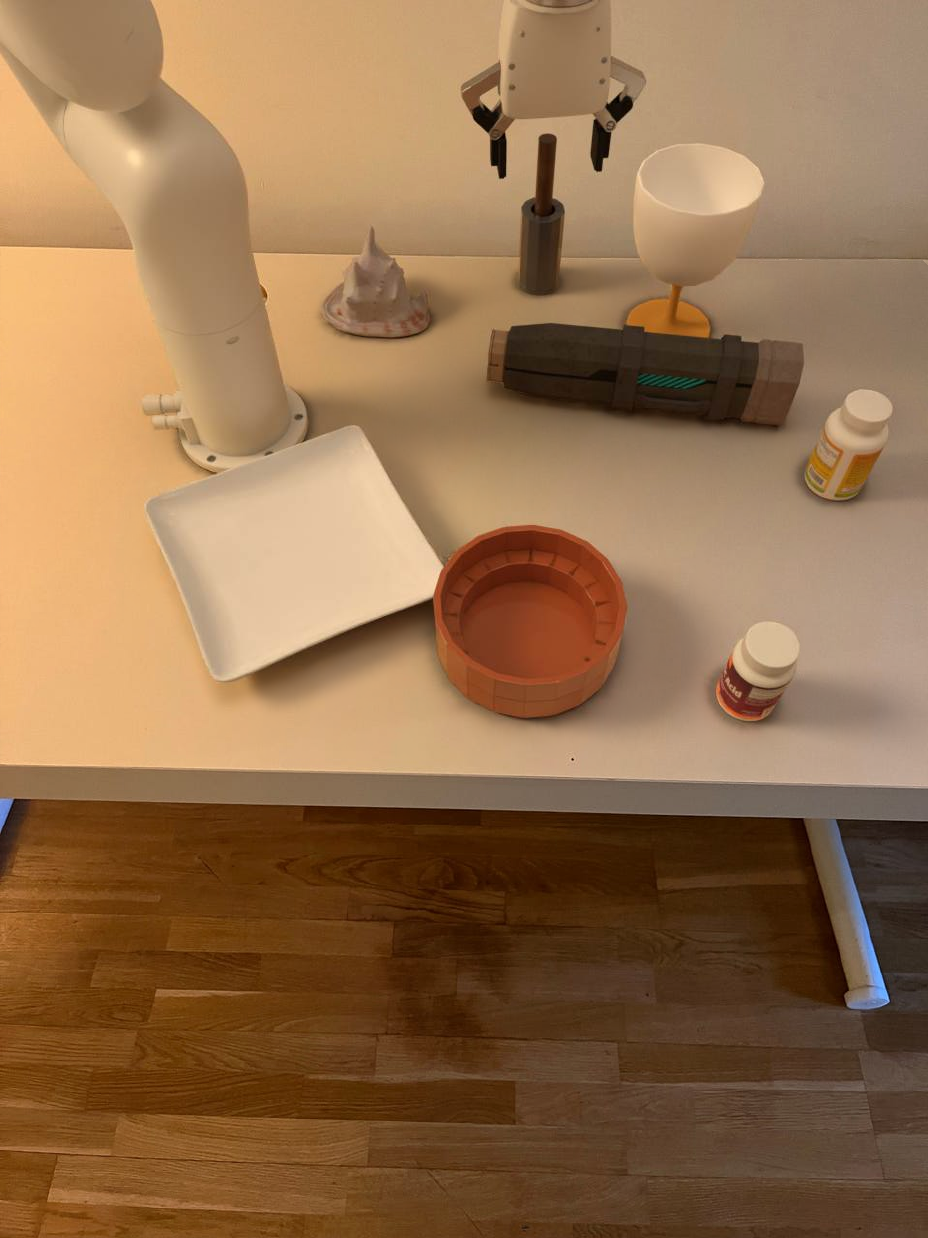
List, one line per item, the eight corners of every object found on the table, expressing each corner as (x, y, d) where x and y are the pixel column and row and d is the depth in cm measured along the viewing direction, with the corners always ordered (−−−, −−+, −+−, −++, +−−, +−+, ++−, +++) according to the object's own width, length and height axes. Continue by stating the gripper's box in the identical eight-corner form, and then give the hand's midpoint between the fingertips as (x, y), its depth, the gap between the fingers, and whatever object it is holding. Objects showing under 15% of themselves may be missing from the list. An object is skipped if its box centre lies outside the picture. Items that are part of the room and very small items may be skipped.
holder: (520, 296, 101) (524, 222, 93) (516, 270, 103) (519, 197, 96) (560, 293, 101) (567, 220, 94) (555, 268, 104) (561, 194, 96)
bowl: (443, 727, 72) (440, 692, 67) (431, 573, 80) (428, 531, 75) (631, 712, 73) (642, 676, 68) (600, 561, 81) (608, 518, 76)
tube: (498, 377, 98) (789, 378, 92) (491, 431, 96) (789, 436, 90) (483, 312, 88) (809, 308, 82) (475, 370, 86) (809, 371, 80)
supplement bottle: (866, 469, 86) (907, 393, 78) (854, 509, 84) (895, 434, 76) (810, 452, 88) (844, 375, 80) (796, 491, 85) (830, 415, 77)
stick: (531, 283, 101) (539, 143, 88) (529, 273, 102) (537, 133, 89) (547, 283, 101) (558, 142, 88) (545, 272, 102) (555, 132, 89)
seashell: (346, 272, 104) (335, 195, 96) (445, 291, 102) (443, 214, 94) (312, 328, 98) (298, 252, 91) (416, 349, 96) (411, 274, 89)
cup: (616, 288, 101) (639, 138, 87) (722, 296, 100) (763, 146, 86) (610, 359, 95) (634, 210, 81) (723, 369, 94) (768, 220, 80)
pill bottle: (708, 673, 75) (733, 618, 68) (765, 669, 75) (795, 613, 68) (722, 725, 72) (749, 674, 65) (781, 720, 72) (814, 668, 65)
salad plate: (223, 705, 73) (214, 685, 70) (149, 521, 83) (137, 497, 80) (457, 607, 78) (457, 584, 75) (360, 445, 89) (357, 419, 86)
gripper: (651, -52, 79) (626, 140, 93) (454, -39, 78) (460, 152, 93) (669, -12, 75) (640, 183, 89) (461, 2, 74) (466, 195, 89)
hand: (548, 167), depth 91 cm, fingers open, 9 cm apart
